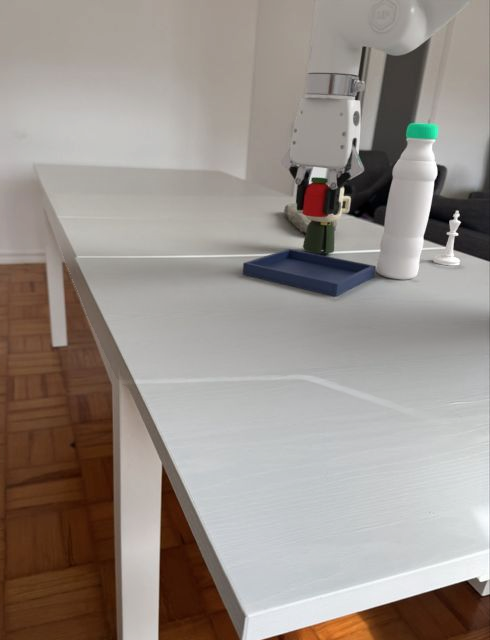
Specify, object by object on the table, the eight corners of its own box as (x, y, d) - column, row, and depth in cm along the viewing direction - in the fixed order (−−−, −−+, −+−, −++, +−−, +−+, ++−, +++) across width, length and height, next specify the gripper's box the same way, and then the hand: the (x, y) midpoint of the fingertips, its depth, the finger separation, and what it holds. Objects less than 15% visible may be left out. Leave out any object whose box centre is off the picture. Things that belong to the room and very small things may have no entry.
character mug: (297, 256, 107) (304, 188, 102) (287, 248, 113) (293, 183, 108) (350, 257, 109) (359, 189, 104) (337, 248, 115) (345, 184, 110)
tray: (374, 277, 96) (376, 266, 95) (335, 296, 84) (337, 284, 84) (287, 258, 105) (288, 248, 104) (242, 274, 94) (243, 262, 93)
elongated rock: (312, 218, 156) (277, 218, 156) (313, 198, 154) (277, 199, 154) (345, 237, 123) (301, 238, 123) (346, 213, 121) (302, 214, 121)
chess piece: (428, 261, 108) (438, 210, 104) (440, 258, 111) (450, 208, 107) (452, 267, 105) (464, 214, 101) (463, 263, 108) (475, 211, 104)
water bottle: (393, 282, 93) (422, 123, 83) (367, 271, 99) (391, 121, 89) (425, 278, 96) (457, 125, 86) (397, 268, 102) (424, 123, 92)
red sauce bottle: (332, 215, 91) (337, 179, 89) (320, 218, 88) (325, 180, 86) (309, 211, 93) (314, 176, 91) (297, 214, 90) (301, 177, 88)
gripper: (393, 92, 81) (372, 216, 89) (294, 89, 90) (283, 202, 98) (374, 88, 76) (353, 222, 83) (270, 86, 85) (260, 206, 92)
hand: (315, 210), depth 90 cm, fingers closed on red sauce bottle, 4 cm apart
